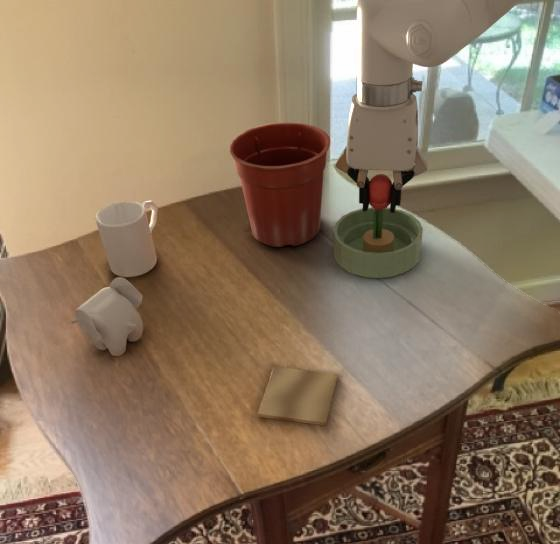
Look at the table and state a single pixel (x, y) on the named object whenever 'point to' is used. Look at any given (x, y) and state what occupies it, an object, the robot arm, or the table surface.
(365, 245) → the tulip
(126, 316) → the elephant figurine
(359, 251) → the bowl
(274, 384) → the coaster
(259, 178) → the flower pot
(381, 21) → the robot arm
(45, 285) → the table surface
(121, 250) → the mug
